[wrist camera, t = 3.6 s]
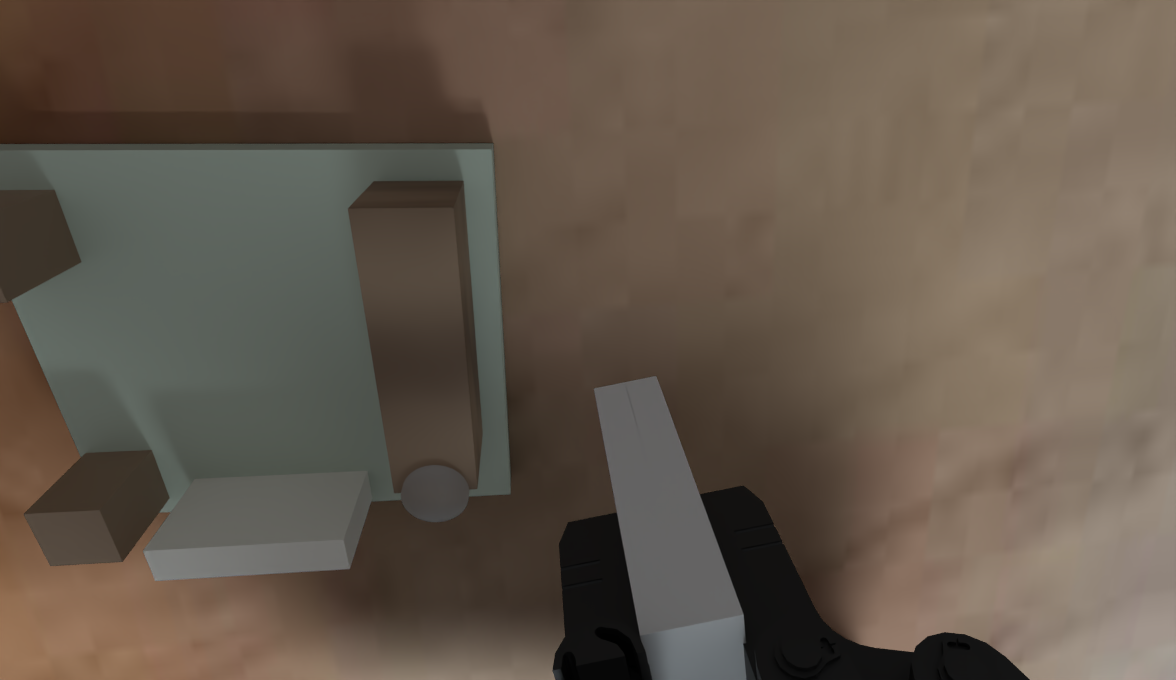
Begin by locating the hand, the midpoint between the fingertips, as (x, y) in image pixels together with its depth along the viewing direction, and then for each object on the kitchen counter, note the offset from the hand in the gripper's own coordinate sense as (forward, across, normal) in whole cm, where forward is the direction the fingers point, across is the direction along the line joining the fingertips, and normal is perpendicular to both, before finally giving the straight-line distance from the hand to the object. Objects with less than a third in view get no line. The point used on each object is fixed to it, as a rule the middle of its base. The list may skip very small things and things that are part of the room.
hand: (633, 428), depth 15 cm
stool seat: (+11, +12, 0) cm, 16 cm away
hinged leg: (+9, +6, +1) cm, 11 cm away
